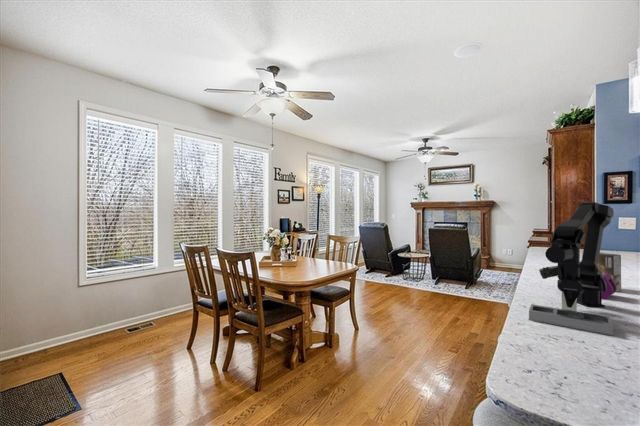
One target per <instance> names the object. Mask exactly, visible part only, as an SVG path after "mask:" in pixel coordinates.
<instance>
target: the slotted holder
mask: <svg viewBox="0 0 640 426" xmlns="http://www.w3.org/2000/svg"><path fill="white" fill-rule="evenodd" d="M532 320H533V321H532ZM528 321H532V322H537V321H538V323H542V324H543V323H545V324H549V325H553V326H559V327H564V328H570V329H573V330H574V329H576V330H579V331H586V332H591V333H595V334H601V335H607V336H611V337H613V336H614V324H613V322H612V319H611V316H607V315H602V314H601V315H600V314H596V313H588V312H581V311H571V310H565V309H562V308H559V307H558V308H557V307H550V306H545V305H539V304H533V303H531V304H530V307H529V310H528Z"/></svg>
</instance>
